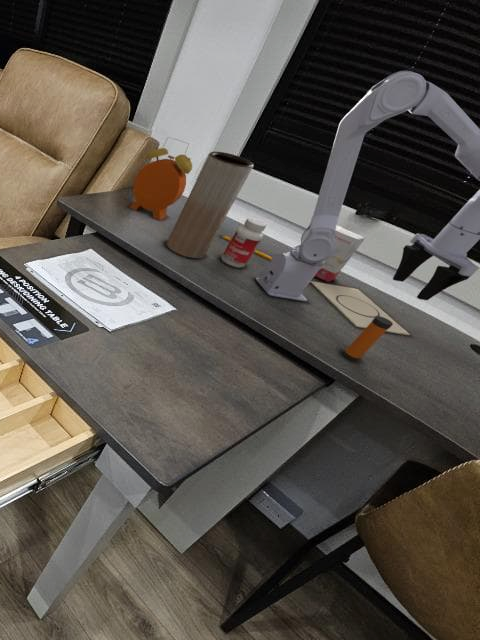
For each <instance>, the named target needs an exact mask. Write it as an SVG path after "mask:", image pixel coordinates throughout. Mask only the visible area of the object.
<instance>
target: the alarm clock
mask: <svg viewBox="0 0 480 640" xmlns="http://www.w3.org/2000/svg"><path fill="white" fill-rule="evenodd" d="M169 139H173V140H176V141H180V142H183V143H185V144H187V147H186V150H185V152H184V154H178V155H176V156H173V155H170V154H169V151H168V149H167V148H165V144H166V143H167V141H168V138H166V140H165V142H164V143H163V146H162V147H160V148H159V147H158V146H155V149H153V150H150V151H149V152H148V153H147V155H146V160H151V159H153V158H155V159H156V160H153V161H151V162H149V163H148V164H145V165H144V166H142V167H141V168H140V170H139V171H138V173H137V174H136V176H135V178H134V181H133V185H132V190H133V191H132V192H133V197H134V199H135V201H133V203H132V204H131V205H130V206H129V208H130V209H132V210H134V211H136V210H139V209H141V208H143V209H144V210H147V211H151V212H152V218H153V219H155V220H158V221H161V220H163V219H165V218H166V217H167V211H168V210H167V209H168V207H170V206H173V205H174V204H175V203H176V202H178V201H179V199H180V198H181V197H182V195H183V194H184V192H185V189H186V186H187V175H188V174H190V173H191V171H192V169H193V163H192V160H191V157H188V156H187V155H186V153H187V151H188V148H189V145H190V143H187V142H185V141H183V140H180V139H177V138H174V137H171V136H169ZM165 155H168V156H167V158H161V159H159V157H162V156H165Z"/></svg>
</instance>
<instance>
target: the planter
mask: <svg viewBox="0 0 480 640" xmlns="http://www.w3.org/2000/svg"><path fill="white" fill-rule="evenodd" d="M253 168H254V163H253V162H252V161H250V160H248V159H247V158H244V157H241V156H239V155H236V154H233V153H228V152H223V151H210V152H209V153H208V155H207V157H206V159H205V161H204V163H203V166H202V167H201V170H200V172H199V174H198V176H197V177H196V179H195V182H194V184H193V186H192V189H191V191H190V193H189V195H188V196H187V199H186V201H185V203H184V206H183V208H182V209H181V212H180V213H179V216H178V218H177V220H176V222H175V224H174V226H173V228H172V231H171V232H170V235H169V237H168V239H167V242H166V246H167V248H168V249H169V250H171V251H172V252H173V253H175V254H177V255H179V256H182V257H185V258H188V259H189V258H190V259H201V258H204V257H205V255H206V254H207V252H208V250H209V249H210V246H211V244H212V243H213V241H214V239H215V237H216V236H217V233H218V232H219V230H220V228H221V226H222V225H223V223H224V221H225V219H226V218H227V216H228V213H229V212H230V210H231V208H232V206H233V204H234V202H235V201H236V199H237V197H238V195H239V193H240V192H241V190H242V188H243V186H244V184H245V182H246V181H247V178H249V175H250V173H251V172H252V170H253Z"/></svg>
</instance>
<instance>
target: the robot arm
mask: <svg viewBox="0 0 480 640" xmlns="http://www.w3.org/2000/svg"><path fill="white" fill-rule="evenodd" d="M407 111H408V112H409V113H410V114H411V115H416V116H425V117H428V118H430V119H431V120H432V121H433V122H434V123H435V124H436V125H437V126H438V127H439V128H440V129H441V130H442V131H443V132H444V133H445V134H446V135H448V137H450V138H451V139H452V140H453V141H454V142H455V143H456V144H457V147H456V150H455V153H454V157H455V159H456V160H458V161H459V163H460V164H462V166H463V167H464V168H465V169H466V170H467V171H468V172H470V174H471V175H472V176H473V177H474V178H475V179H476V180H477V181H480V128H479V126H477V124H476V123H475V122H474V121H473V120H472V119H471V118H470V117H469V115H468V114H467V113H466V112H465V111H464V110H463V109H462V108H461V107H460V106H459V105H458V104H457V103H456V101H455V100H454V99H453V98H452V97H451V96H450V94H448V93H447V92H446V91H444V89H442V88H440V87H438V86H437V85H435V84H434V83H432V82H431V81H428V80H426V79H425V78H424V76H423V75H421V74H419V73H417V72H414V71H411V70H400V71H396V72H394V73H392V74H390V75H388V76H387V77H385V78H383V79H382V80H381V81H379V82H378V83H376V84H375V85H373V86H372V87H371V88H370V89H369V90H368V91H367V92H366V94H365V95H364V96H363V97H361V99H360V100H359V101H358V102H357V103H356V104H355V105H354V106H353V107H352V108H351V109H350V110H349V111H348V112H347V113H346V114H345V115H344V116H343V117H342V119H341V120H340V122H339V124H338V128H337V131H336V134H335V138H334V141H333V145H332V148H331V152H330V154H329V159H328V162H327V166H326V169H325V173H324V176H323V179H322V183H321V186H320V190H319V193H318V197H317V201H316V204H315V208H314V210H313V214H312V216H311V219H310V222H309V225H308V226H307V227H306V229H305V230H304V231H303V232H302V234H301V237H300V244H298V245H297V246H295V247H291V250H290V251H288V252H278V253H276V254H275V255H274V256H272V259H271V260H269V262H268V263H267V265H266V266H265V268H263V270H262V272H261V274H260V275H259V277H255V281H256V282H257V284H258V285H260V286H261V288H262V289H263V290H264V292H266V293H267V295H269V296H270V297H276V298H282V299H288V300H294V301H299V302H307V301H308V299H307V297H305V295H303V292H304V291H305V290H306V288H308V285H310V284H311V281H312V280H313V279H314V277H316V276H315V275H316V273H317V272H318V271H319V269H320V268H321V267H322V265H323V264H324V263H325V260H326V259H328V258H329V257H330V256H331V255H332V254H333V252H334V250H335V241H334V240H335V229H336V225H337V226H338V220H339V217H340V214H341V212H342V211H341V210H342V207H343V204H344V201H345V198H346V194H347V192H348V189H349V186H350V182H351V180H352V176H353V172H354V170H355V166H356V164H357V160H358V158H359V154H360V151H361V148H362V144H363V141H364V138H365V135H366V134H367V132H369V131H371V130H373V128H375V127H377V126H378V125H379V124H381V123H383V122H384V121H385V120H388V119H390V118H393V117H396V116H398V115H400V114H402V113H405V112H407ZM478 241H480V188H479V189H478V191H476V192H475V194H474V195H472V197H471V198H469V200H468V201H467V202H466V203H465V204H464V205H463V206H462V207H461V208H460V210H459V211H458V212H457V213H456V214H455V215H454V216H453V217H452V218H451V219H450V220H449V222H448V223H447V224H446V225H445V226H444V227H443V228H442V229H441V230H440V232H439V233H438V234H437V235H436V236H435V237H434V238H432V237H430V236H428V235H427V234H424V233H419V232H417V233H415V235H414V236H412V238H411V240H409V243H411V245H408V244H406V245H404V247H403V248H402V256H401V260H400V261H399V262H400V263H399V265H398V267H397V269H396V272H395V274H394V275H393V277H392V280H393V281H395V282H402V283H403V282H404V281H405V280H407V279H408V278H409V277H410V276H411V275H412V274H413V273H414V272H415V271H416V270H417V269H418V268H419V267H420V266H421V265H422V264H424V263H425V262H427V261H428V260H429V259H431V258H432V257H435V258H437V259H438V260H439V261H441V262H442V263H445V264H446V265H447V266H443V265H438V266H437V267H436V269H435V271H434V273H433V275H432V277H431V278H430V280H429V281H428V282H427V284H426V285H425V286H424V287H423V288H422V289H421V290H420V292H419V293H418V294H417V296H416V298H417V299H418V300H423V301H429V300H430V299H431V298H434V297H435V296H436V295H438V294H439V293H441V292H443V291H444V290H446V289H448V288H450V287H452V286H454V285H457V284H459V283H461V282H464V281H466V280H469V278H470V277H473V275H474V274H475V273H477V271H479V269H480V267H479V266H478V265H477V264H475V263H474V262H473V261H472V260H471V259H470V258H468V257H467V256H468V254H467V253H468V252H469V251H470V250H471V249H472V248H473V247H474V246H475V245H476V244H477V243H478Z"/></svg>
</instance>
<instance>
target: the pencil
mask: <svg viewBox="0 0 480 640" xmlns="http://www.w3.org/2000/svg"><path fill="white" fill-rule="evenodd" d="M221 239H223V240H225V241H228V242H230V241H231V239H232V237H229V236H227V235H223V236H222V238H221ZM253 254H256V255H258V256H260V257H262V258H264V259H267V260H269V261H270V260H271V259H272V258H273V256H270V255H267V254H265V253H263V252H262V251H259V250H257V249H255V251H254V253H253Z"/></svg>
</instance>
